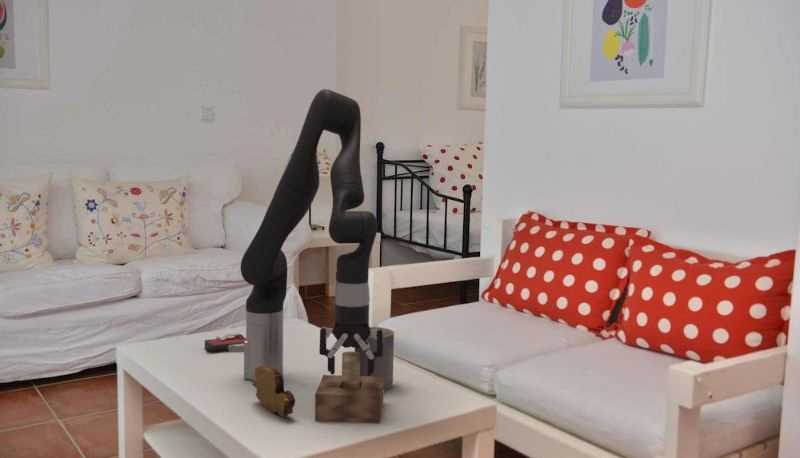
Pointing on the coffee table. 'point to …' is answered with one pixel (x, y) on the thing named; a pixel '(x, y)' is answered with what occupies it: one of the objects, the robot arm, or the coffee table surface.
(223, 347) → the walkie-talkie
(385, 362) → the pillar candle
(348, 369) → the peg
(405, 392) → the coffee table surface
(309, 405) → the coffee table surface
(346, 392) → the socket block
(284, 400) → the wooden carving
